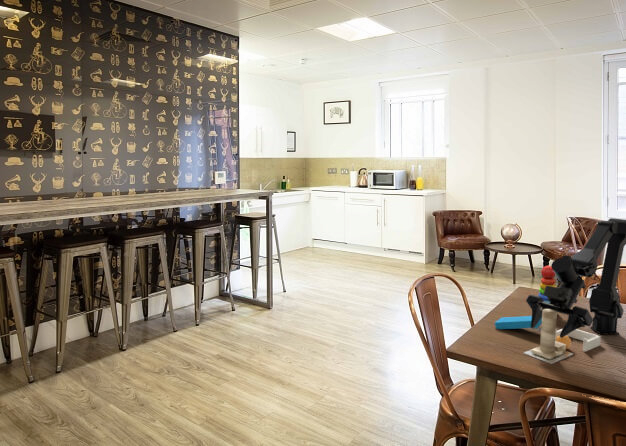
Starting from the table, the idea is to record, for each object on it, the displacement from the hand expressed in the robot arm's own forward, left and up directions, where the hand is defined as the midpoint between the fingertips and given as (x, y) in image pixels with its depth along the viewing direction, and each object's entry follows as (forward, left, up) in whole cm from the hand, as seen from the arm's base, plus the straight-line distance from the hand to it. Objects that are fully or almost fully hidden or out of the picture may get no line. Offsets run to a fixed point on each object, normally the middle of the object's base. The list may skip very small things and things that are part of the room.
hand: (545, 332), depth 146 cm
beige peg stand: (-2, -1, -7) cm, 7 cm away
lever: (-3, -20, -8) cm, 22 cm away
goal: (-15, -10, -8) cm, 20 cm away
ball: (-9, -6, -5) cm, 12 cm away
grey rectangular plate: (-1, -1, -8) cm, 8 cm away
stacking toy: (-20, -39, -8) cm, 45 cm away
